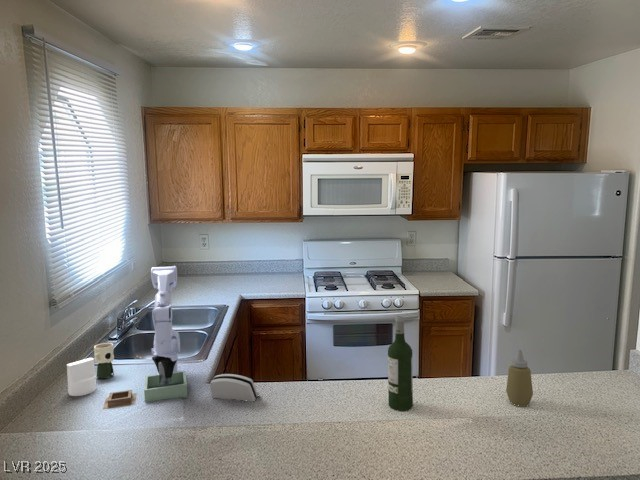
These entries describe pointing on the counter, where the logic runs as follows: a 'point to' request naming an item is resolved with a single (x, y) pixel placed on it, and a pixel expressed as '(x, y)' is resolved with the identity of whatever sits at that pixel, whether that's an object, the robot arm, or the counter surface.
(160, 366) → the strut
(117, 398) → the socket block
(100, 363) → the character mug
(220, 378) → the grey toaster
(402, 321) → the wine bottle
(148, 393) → the bin
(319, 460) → the counter surface
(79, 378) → the white grooved block
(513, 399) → the squeeze bottle
